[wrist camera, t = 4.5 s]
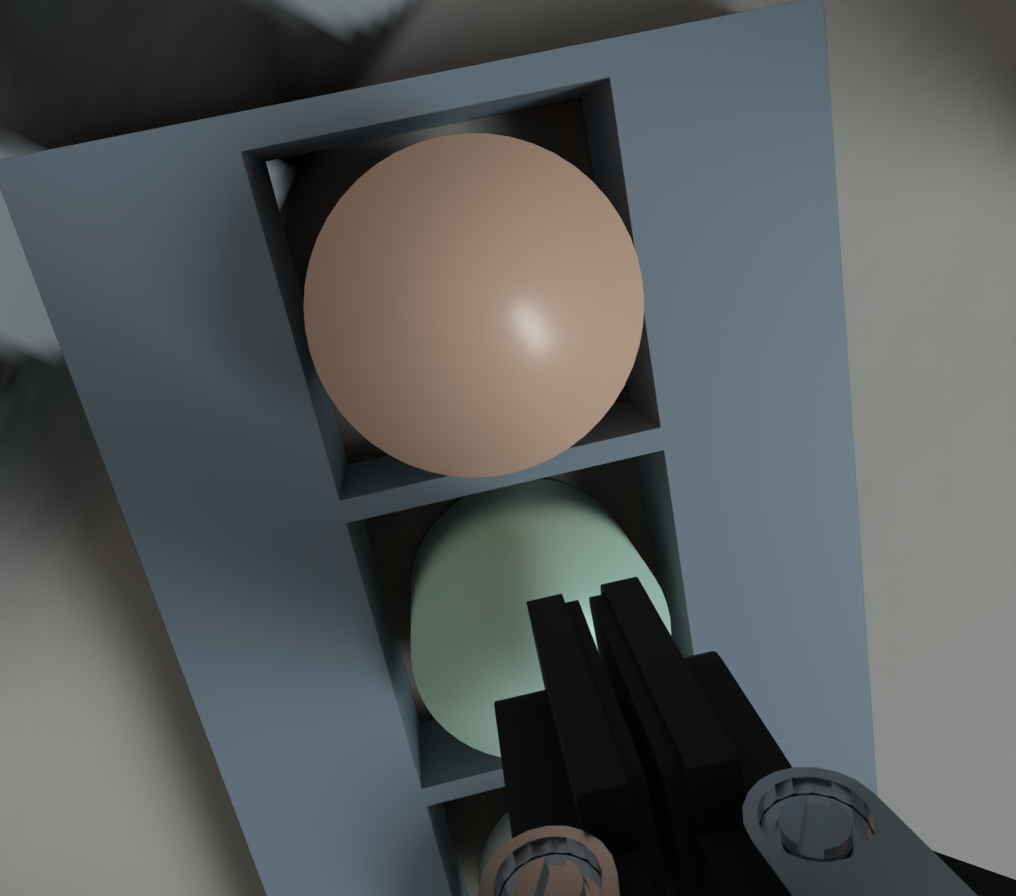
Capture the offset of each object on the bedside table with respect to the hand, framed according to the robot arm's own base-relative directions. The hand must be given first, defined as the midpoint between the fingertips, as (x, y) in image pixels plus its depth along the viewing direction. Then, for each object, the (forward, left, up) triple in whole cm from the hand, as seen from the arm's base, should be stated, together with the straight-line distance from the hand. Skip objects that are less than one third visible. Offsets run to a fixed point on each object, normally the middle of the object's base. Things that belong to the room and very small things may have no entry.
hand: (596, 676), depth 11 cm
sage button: (+1, 0, -4) cm, 4 cm away
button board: (+1, 0, -4) cm, 4 cm away
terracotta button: (+1, -5, -3) cm, 6 cm away
